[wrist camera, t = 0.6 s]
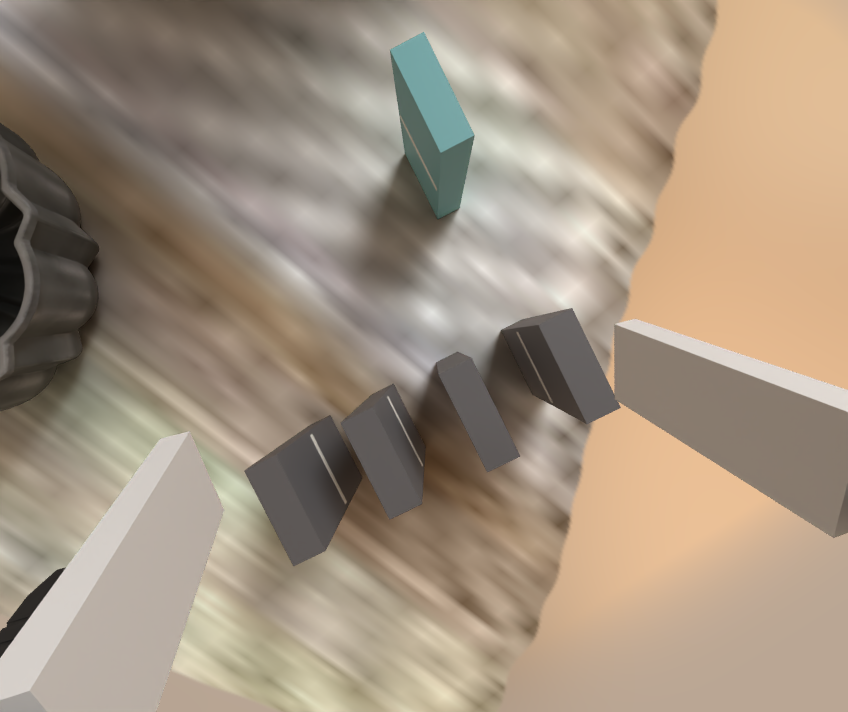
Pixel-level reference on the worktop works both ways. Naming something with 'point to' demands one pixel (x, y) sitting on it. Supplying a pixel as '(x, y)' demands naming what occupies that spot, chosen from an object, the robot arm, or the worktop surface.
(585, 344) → the black tile
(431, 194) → the teal tile
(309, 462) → the black tile
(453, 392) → the black tile
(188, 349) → the worktop surface
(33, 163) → the bundt pan
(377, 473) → the black tile
